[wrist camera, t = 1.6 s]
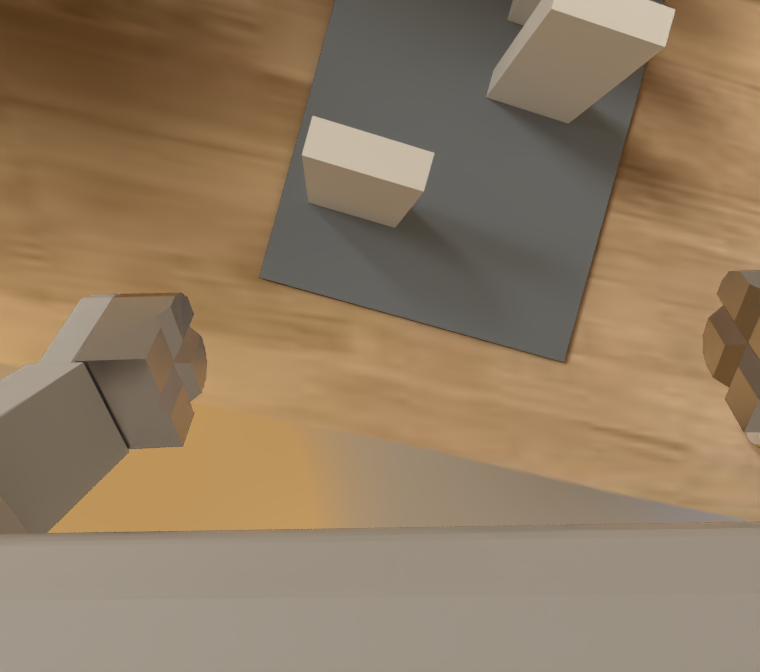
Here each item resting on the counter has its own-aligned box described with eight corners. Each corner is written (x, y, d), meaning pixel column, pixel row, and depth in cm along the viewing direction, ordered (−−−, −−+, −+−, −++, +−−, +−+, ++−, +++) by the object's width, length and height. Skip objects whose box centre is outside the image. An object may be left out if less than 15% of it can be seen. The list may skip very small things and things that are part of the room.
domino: (486, 97, 35) (551, 8, 25) (493, 70, 35) (562, -30, 25) (568, 123, 35) (665, 47, 25) (575, 96, 35) (675, 9, 25)
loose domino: (308, 202, 34) (301, 155, 24) (315, 174, 34) (312, 115, 24) (394, 227, 34) (423, 191, 24) (402, 200, 34) (434, 153, 24)
